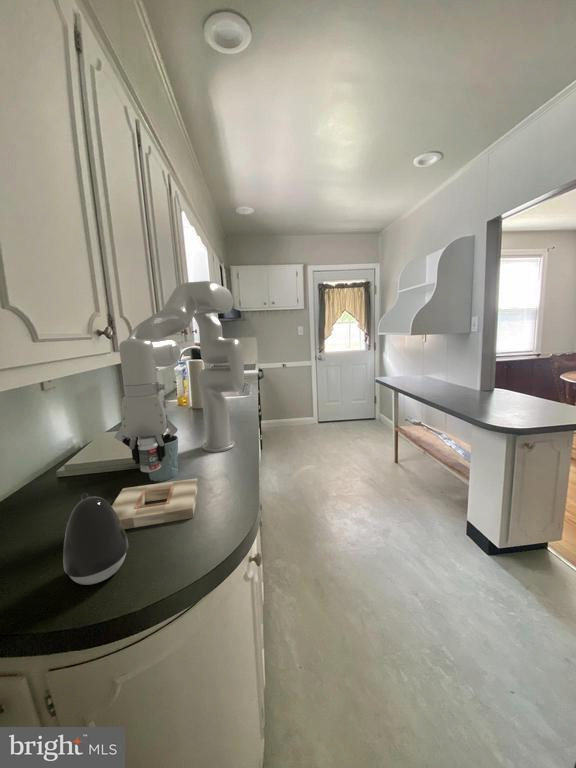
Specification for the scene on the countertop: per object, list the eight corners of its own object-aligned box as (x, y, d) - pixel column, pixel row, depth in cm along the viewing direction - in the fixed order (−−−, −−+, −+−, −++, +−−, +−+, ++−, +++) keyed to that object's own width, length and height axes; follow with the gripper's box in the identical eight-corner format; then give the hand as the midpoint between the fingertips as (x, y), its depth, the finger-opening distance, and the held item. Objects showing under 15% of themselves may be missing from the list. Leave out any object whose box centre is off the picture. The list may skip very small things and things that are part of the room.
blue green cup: (140, 481, 93) (135, 444, 91) (161, 467, 103) (157, 433, 101) (169, 483, 90) (164, 446, 88) (187, 469, 100) (184, 434, 98)
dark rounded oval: (122, 545, 64) (112, 479, 62) (137, 571, 57) (127, 497, 54) (63, 572, 57) (49, 499, 55) (72, 606, 50) (57, 523, 47)
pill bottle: (153, 473, 74) (149, 440, 72) (136, 472, 74) (132, 440, 73) (164, 465, 78) (161, 434, 77) (148, 464, 79) (145, 433, 78)
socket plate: (124, 496, 84) (122, 487, 84) (198, 486, 88) (197, 477, 88) (102, 532, 69) (101, 522, 68) (193, 517, 73) (192, 507, 72)
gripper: (180, 385, 79) (186, 451, 81) (109, 390, 75) (118, 459, 78) (176, 390, 71) (183, 462, 74) (97, 396, 68) (107, 471, 71)
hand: (149, 460), depth 76 cm, fingers closed on pill bottle, 4 cm apart
